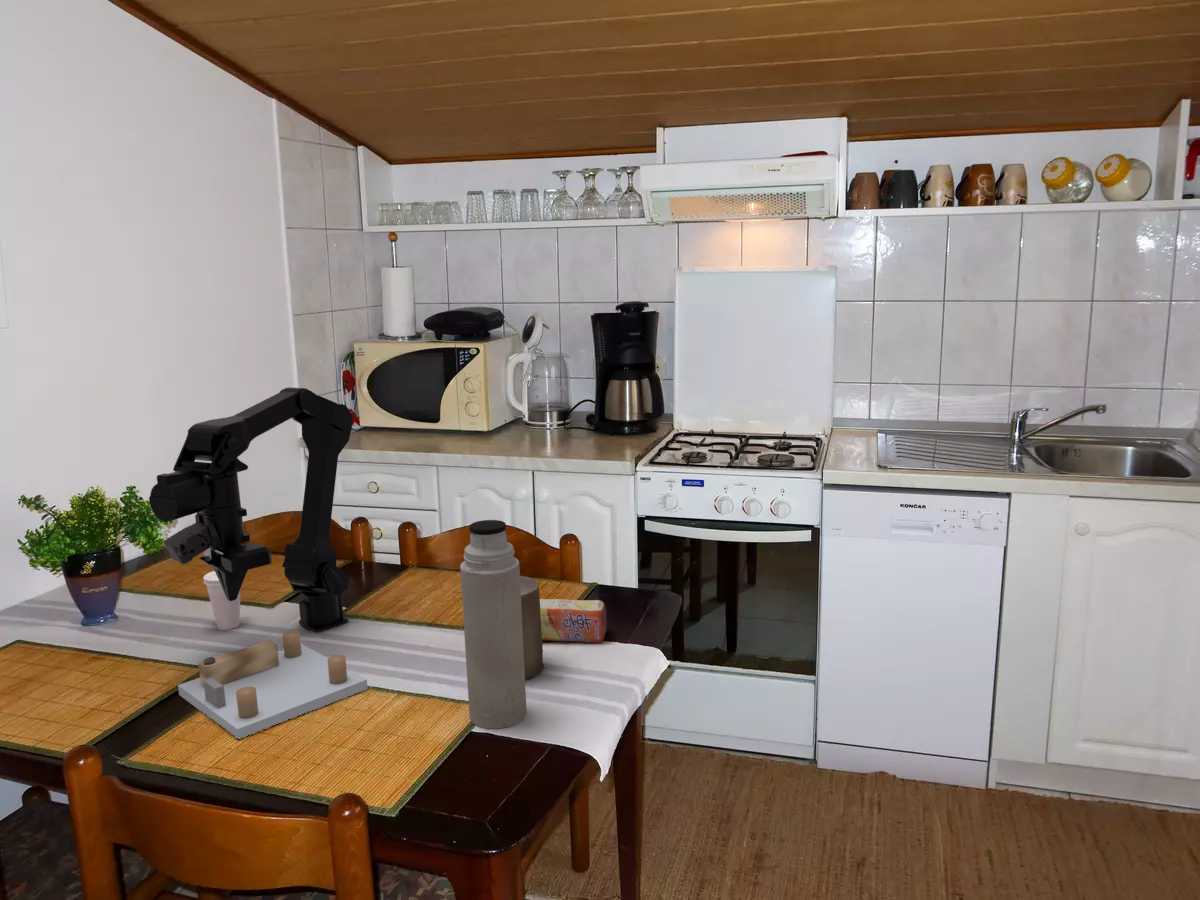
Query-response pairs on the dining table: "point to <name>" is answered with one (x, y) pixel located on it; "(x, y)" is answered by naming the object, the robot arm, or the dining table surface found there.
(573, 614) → the snack package
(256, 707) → the grey peg board
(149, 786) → the dining table surface
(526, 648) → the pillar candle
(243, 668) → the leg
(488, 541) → the thermos bottle
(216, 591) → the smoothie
